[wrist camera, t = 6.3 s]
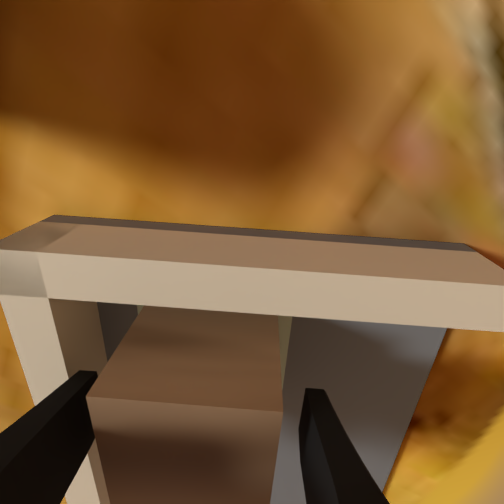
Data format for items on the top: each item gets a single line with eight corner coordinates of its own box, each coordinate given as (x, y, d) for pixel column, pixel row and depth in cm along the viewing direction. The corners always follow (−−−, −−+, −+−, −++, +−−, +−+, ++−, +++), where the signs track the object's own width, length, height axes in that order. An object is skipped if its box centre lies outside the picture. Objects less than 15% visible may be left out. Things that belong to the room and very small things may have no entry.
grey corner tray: (365, 508, 19) (384, 581, 16) (112, 487, 19) (84, 555, 16) (463, 243, 12) (531, 287, 9) (53, 215, 12) (-18, 247, 9)
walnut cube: (267, 391, 14) (267, 521, 10) (160, 383, 14) (111, 508, 10) (277, 301, 12) (283, 412, 8) (152, 292, 12) (85, 396, 8)
